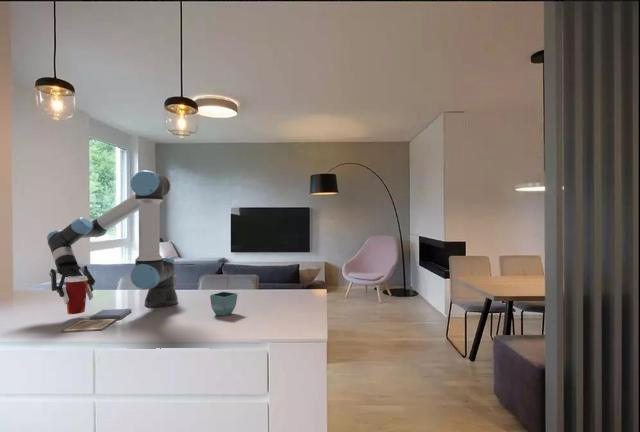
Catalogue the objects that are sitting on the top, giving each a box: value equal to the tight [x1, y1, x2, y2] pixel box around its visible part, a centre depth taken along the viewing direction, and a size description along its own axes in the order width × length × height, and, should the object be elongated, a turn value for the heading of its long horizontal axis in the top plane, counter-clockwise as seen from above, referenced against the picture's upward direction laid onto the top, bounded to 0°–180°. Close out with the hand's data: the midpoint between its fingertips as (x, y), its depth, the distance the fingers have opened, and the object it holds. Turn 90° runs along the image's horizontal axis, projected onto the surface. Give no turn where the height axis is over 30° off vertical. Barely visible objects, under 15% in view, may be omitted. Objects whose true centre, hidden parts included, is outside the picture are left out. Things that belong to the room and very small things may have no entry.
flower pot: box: [209, 291, 238, 317], centre depth 152 cm, size 9×9×9 cm
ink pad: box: [88, 308, 132, 320], centre depth 148 cm, size 12×12×2 cm
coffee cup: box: [64, 275, 88, 315], centre depth 144 cm, size 8×8×15 cm
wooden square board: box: [61, 319, 119, 333], centre depth 134 cm, size 14×14×1 cm
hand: (79, 299), depth 142 cm, fingers closed on coffee cup, 8 cm apart
